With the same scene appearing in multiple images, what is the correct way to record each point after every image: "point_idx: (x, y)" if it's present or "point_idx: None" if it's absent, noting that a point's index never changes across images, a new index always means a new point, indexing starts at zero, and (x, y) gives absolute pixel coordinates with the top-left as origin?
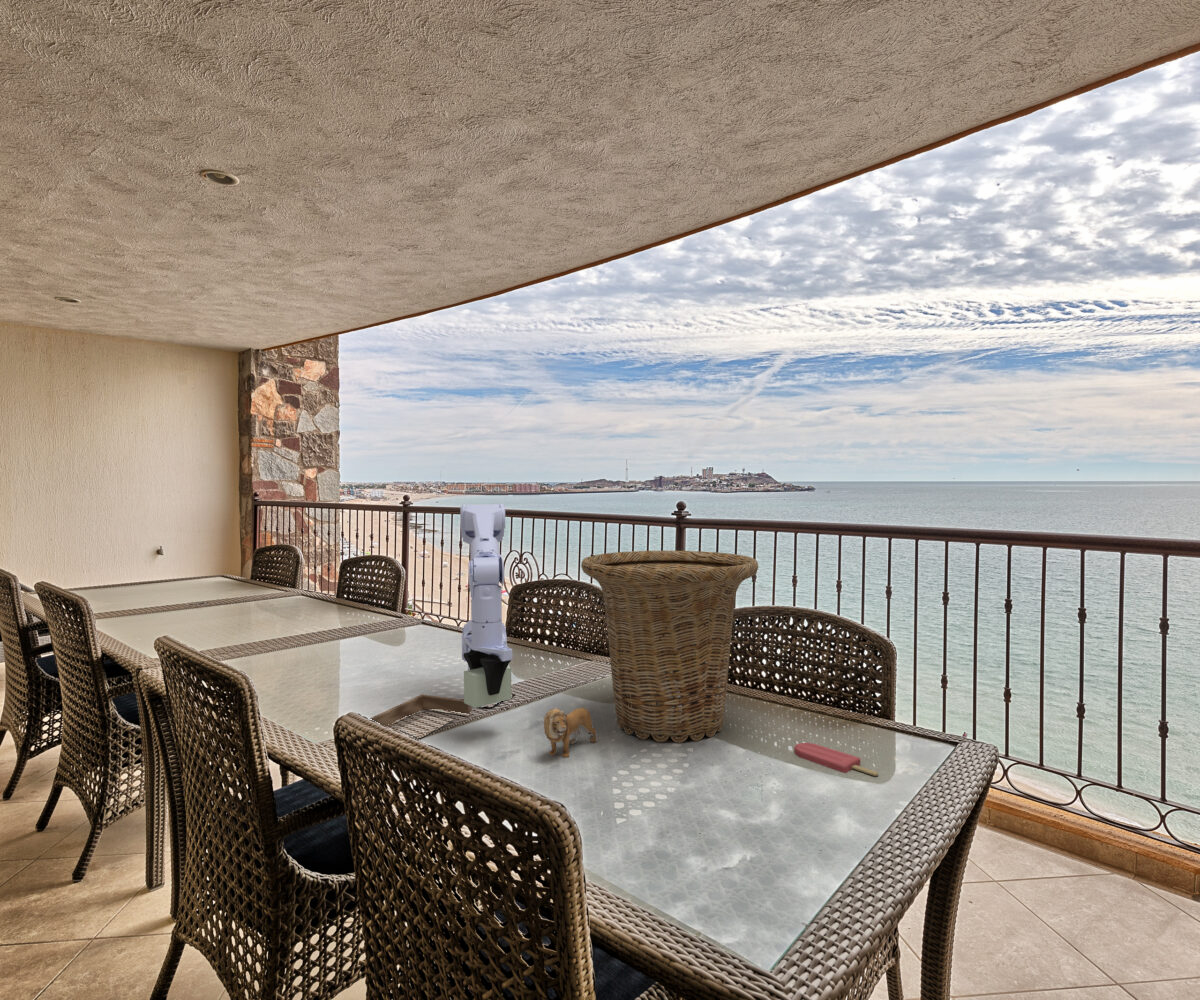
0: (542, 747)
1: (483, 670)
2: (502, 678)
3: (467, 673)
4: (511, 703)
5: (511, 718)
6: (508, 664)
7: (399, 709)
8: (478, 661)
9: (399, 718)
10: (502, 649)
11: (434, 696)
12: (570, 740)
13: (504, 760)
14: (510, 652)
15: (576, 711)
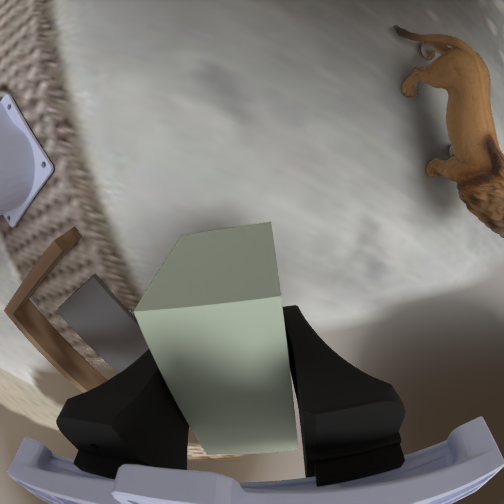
0: (389, 164)
1: (240, 417)
2: (320, 339)
3: (237, 451)
4: (42, 104)
5: (138, 136)
6: (370, 376)
7: (66, 367)
8: (170, 440)
9: (74, 355)
10: (440, 500)
11: (15, 298)
12: (412, 95)
13: (391, 271)
14: (493, 457)
15: (485, 94)
